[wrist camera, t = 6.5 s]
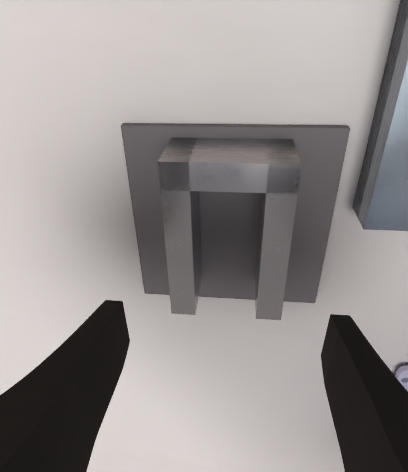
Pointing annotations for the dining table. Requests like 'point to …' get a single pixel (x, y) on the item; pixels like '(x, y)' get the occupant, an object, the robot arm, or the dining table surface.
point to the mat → (237, 209)
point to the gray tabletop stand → (228, 180)
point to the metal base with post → (388, 143)
